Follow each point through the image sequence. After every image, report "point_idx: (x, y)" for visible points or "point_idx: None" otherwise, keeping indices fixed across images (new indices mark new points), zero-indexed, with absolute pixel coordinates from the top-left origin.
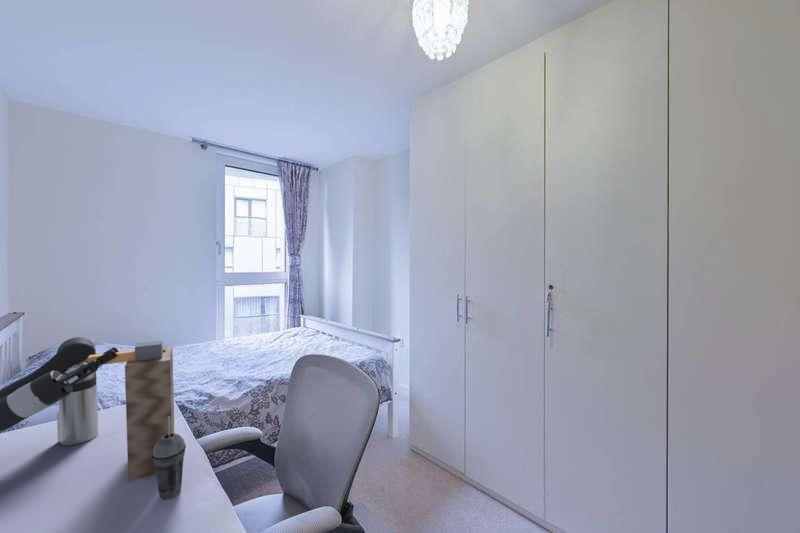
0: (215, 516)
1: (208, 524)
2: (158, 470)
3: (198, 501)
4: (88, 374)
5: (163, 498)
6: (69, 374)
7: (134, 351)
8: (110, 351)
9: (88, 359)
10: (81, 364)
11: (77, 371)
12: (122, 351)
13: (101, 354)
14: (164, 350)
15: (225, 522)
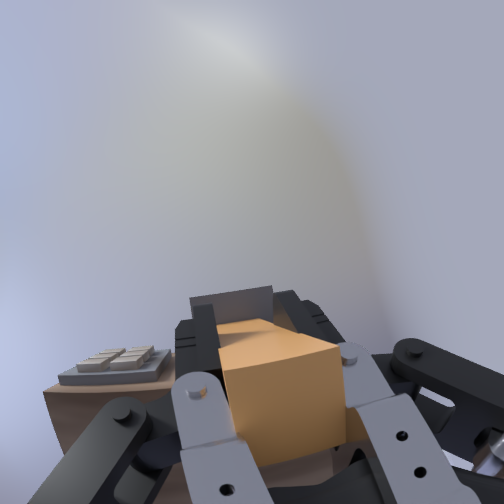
0: None
1: (449, 460)
2: None
3: None
4: (443, 412)
5: None
6: (493, 492)
7: (248, 320)
8: (295, 294)
9: (340, 368)
10: (401, 412)
11: (502, 376)
12: (218, 331)
13: (250, 343)
14: (170, 351)
15: (443, 451)
